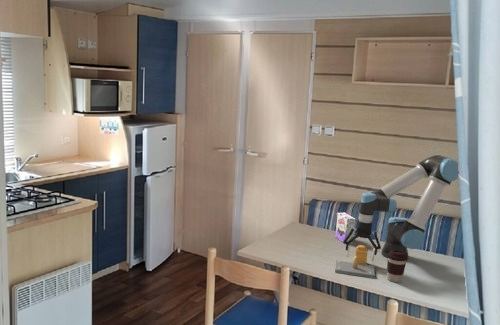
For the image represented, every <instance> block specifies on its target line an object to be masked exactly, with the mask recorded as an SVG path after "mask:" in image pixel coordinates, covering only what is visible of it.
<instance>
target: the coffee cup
mask: <svg viewBox="0 0 500 325" xmlns="http://www.w3.org/2000/svg"><path fill="white" fill-rule="evenodd" d="M387 257H388V258H387ZM387 257H386V258H387V264H386V271H387V272H386V273H387V274H386V278H387V279H386V280H388V281H389V282H392V283H402V281H403V275H404V274H405V268H406V262H407V261H408V259H409V255H408V256H407V255H405V253H404V252H403V251H400V250H392V251H391V252H388V253H387Z"/></svg>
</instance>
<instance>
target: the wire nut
mask: <svg viewBox="0 0 500 325" xmlns="http://www.w3.org/2000/svg"><path fill="white" fill-rule="evenodd" d="M368 252H369V249H368V247H367V246H365V245H363V244H362V245H361V244H359V245H357V247H355V256H357V257H358V264H364V265H367V258H368Z"/></svg>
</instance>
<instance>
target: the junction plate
mask: <svg viewBox="0 0 500 325" xmlns="http://www.w3.org/2000/svg"><path fill="white" fill-rule="evenodd" d="M334 270H335V272H334V273H338V274H345V275H351V276H356V275H358V276H357V277H365V278H369V277H370V278H369V279H375V276H376V274H375V266H374V265H371V264H370V265H369V264H366V265H364V264H358V257H357V256H353V260H352V262H350V261H344V260H343V261H342V260H336V261H335V268H334Z"/></svg>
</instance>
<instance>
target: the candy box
mask: <svg viewBox="0 0 500 325" xmlns="http://www.w3.org/2000/svg"><path fill="white" fill-rule="evenodd" d="M336 214H337V216H336V224H335V232H334V237H335V238H336V239H337V240H339V241H340V242H341V243H343V241H344V239H345V238H346V237H347V235H348V234H349V232H350V231H351V228H352V227H353V228H355V227H356V218H355V217H353V216H351V214H348V213H346V212H337V213H336ZM355 229H356V228H355ZM354 234H355V232H353V233H352V235H351V236H350V237H349V239H348V240H347V242H348V241H349V240H350V239H351V238H352V237H354V236H355V235H354ZM353 242H354V241H353ZM353 242H351V243H350V245H353Z"/></svg>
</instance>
